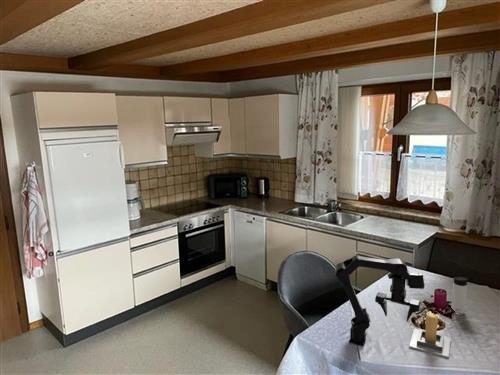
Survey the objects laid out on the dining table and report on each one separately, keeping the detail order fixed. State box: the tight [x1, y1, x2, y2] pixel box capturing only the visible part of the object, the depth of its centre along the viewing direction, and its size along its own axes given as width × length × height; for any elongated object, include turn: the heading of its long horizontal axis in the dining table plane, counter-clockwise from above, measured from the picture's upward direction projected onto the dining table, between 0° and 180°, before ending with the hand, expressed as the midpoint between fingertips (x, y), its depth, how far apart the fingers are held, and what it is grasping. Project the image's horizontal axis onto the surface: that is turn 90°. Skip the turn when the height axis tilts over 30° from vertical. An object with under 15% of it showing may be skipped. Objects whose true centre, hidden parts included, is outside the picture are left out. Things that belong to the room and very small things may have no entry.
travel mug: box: [450, 276, 468, 316], centre depth 194 cm, size 6×7×20 cm
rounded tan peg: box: [425, 313, 439, 344], centre depth 170 cm, size 5×5×13 cm
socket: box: [409, 328, 452, 359], centre depth 171 cm, size 16×16×3 cm
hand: (396, 318), depth 169 cm, fingers open, 9 cm apart
